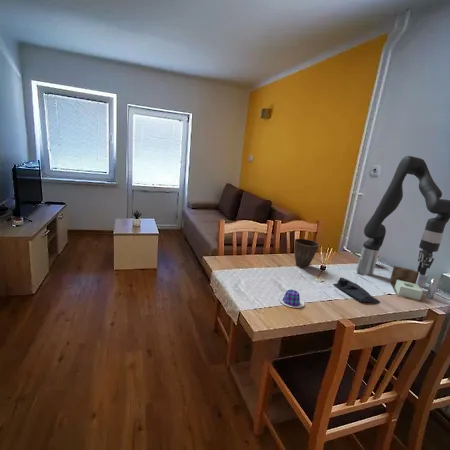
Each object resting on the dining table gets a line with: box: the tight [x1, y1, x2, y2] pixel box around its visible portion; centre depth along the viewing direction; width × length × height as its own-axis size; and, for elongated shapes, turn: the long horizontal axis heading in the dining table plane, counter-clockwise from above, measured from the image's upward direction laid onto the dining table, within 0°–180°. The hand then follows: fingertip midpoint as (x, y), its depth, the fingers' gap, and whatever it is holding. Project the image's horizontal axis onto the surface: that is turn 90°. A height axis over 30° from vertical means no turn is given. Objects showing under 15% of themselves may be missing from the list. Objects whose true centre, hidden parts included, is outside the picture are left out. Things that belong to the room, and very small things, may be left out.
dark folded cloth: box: [333, 277, 381, 304], centre depth 142 cm, size 15×22×5 cm
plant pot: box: [293, 238, 320, 269], centre depth 172 cm, size 15×15×16 cm
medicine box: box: [414, 269, 429, 288], centre depth 162 cm, size 8×4×9 cm, turn 168°
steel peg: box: [425, 277, 440, 300], centre depth 144 cm, size 3×3×12 cm
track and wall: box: [389, 265, 425, 304], centre depth 148 cm, size 12×22×11 cm, turn 158°
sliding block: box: [395, 280, 423, 300], centre depth 146 cm, size 10×10×5 cm
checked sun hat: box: [278, 289, 305, 309], centre depth 125 cm, size 12×12×5 cm
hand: (420, 273), depth 133 cm, fingers open, 3 cm apart
